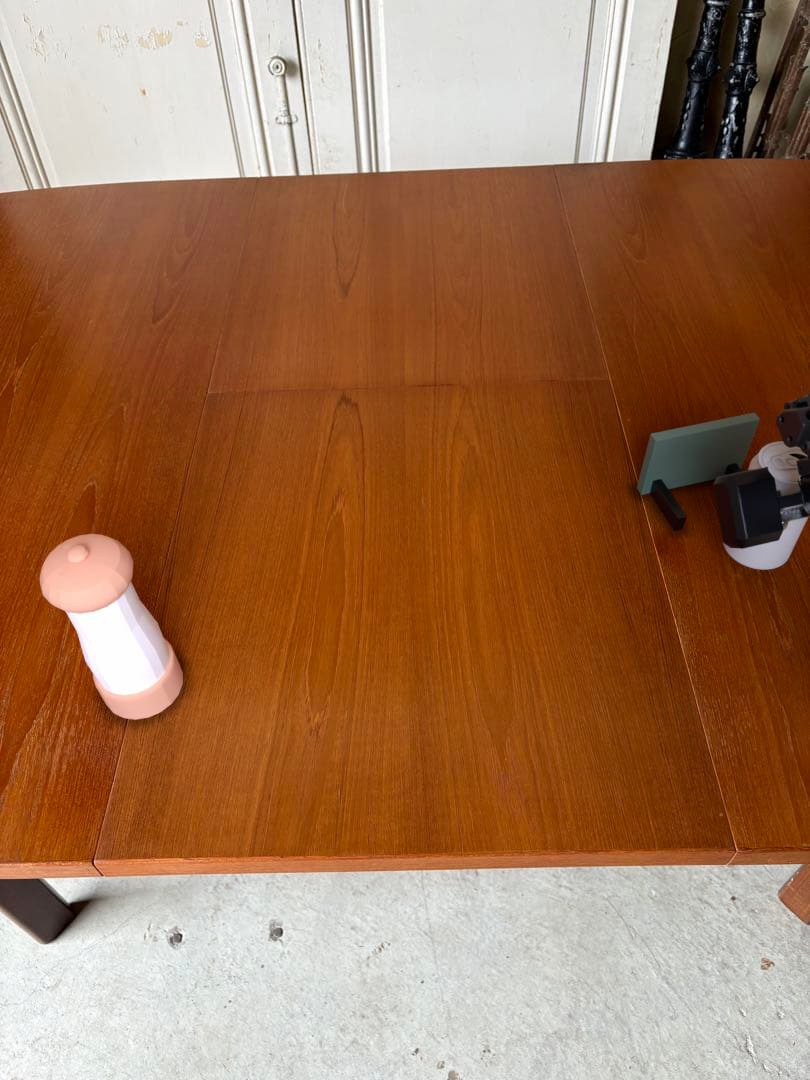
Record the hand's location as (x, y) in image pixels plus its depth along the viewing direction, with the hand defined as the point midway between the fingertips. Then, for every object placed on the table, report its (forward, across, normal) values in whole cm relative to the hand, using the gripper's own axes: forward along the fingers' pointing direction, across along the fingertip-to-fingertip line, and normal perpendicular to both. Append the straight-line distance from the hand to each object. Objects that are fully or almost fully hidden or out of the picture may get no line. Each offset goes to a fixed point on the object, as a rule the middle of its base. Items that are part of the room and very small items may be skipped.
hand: (766, 494), depth 77 cm
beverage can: (+4, 0, +6) cm, 7 cm away
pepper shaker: (+7, +61, +6) cm, 61 cm away
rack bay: (+12, 0, 0) cm, 12 cm away
